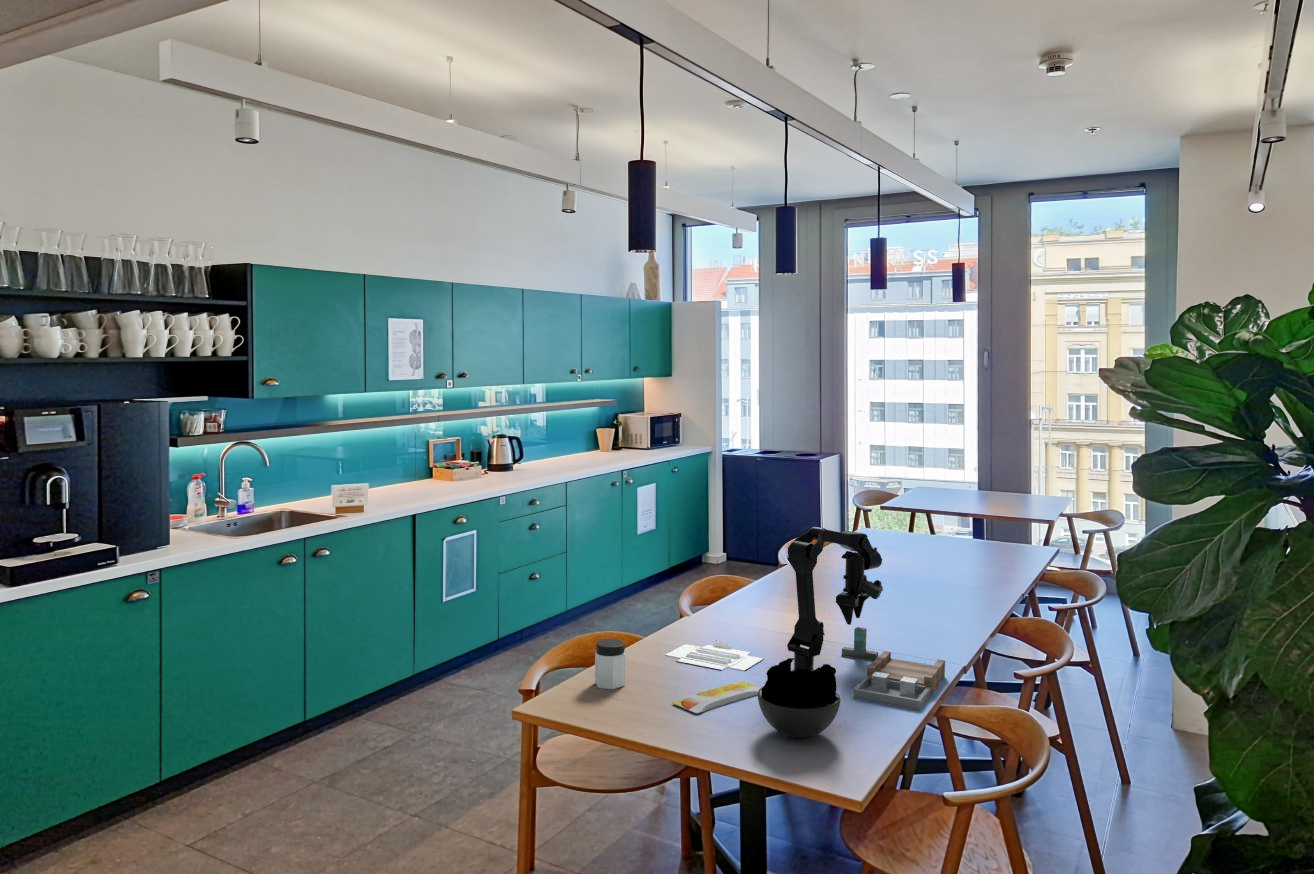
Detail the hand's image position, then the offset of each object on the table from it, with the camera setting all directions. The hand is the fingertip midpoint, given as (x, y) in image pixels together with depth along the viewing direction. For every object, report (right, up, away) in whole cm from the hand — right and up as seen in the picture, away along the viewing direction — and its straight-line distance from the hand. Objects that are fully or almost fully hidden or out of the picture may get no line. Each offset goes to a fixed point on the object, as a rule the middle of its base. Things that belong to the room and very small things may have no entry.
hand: (853, 621), depth 281 cm
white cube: (+2, -11, -27) cm, 29 cm away
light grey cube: (+9, -11, -31) cm, 34 cm away
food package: (-44, -14, -36) cm, 59 cm away
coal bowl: (-27, -16, -61) cm, 68 cm away
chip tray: (+3, -14, -34) cm, 37 cm away
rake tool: (+2, -12, +2) cm, 12 cm away
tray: (-44, -12, 0) cm, 45 cm away
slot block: (+11, -13, -20) cm, 26 cm away
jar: (-75, -13, -26) cm, 80 cm away
